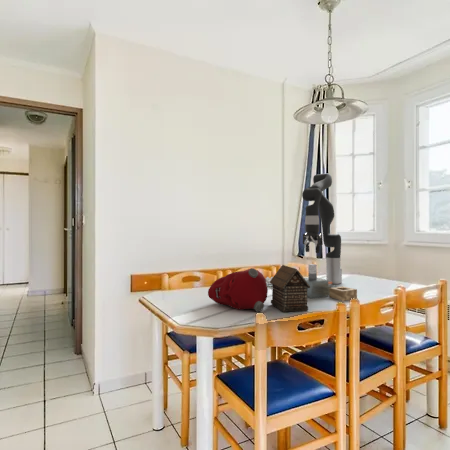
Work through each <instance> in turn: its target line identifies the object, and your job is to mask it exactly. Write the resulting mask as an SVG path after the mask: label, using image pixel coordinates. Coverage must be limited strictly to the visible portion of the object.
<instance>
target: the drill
mask: <svg viewBox="0 0 450 450" xmlns="http://www.w3.org/2000/svg"><path fill="white" fill-rule="evenodd" d="M307 265H308V266H307V267H308V271H307V272H308V276H307V277H308V278H309V280H317V278H318V277H317V276H318V275H317V273H318V272H317V271H318V269H317V265H318V264H314V263H309V264H307Z"/></svg>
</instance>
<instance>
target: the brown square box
mask: <svg viewBox="0 0 450 450" xmlns="http://www.w3.org/2000/svg"><path fill="white" fill-rule="evenodd" d="M329 291H330V295H329V298H331V299H335V300H339V301H341V302H342V301H343V302H344V301H351V300H350V299H351V298H357V299H358V289H356V288H352V287H347V286H337V287H334V288H329Z"/></svg>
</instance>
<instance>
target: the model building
mask: <svg viewBox="0 0 450 450" xmlns="http://www.w3.org/2000/svg"><path fill="white" fill-rule="evenodd" d="M272 277H273V278H272V279H271V281H270V283H271V284H273V285H272V286H273V287H272V286H271V287H272V290H271V292H272V293H271V294H272V295H271V300H270V303H271V306H274V307H275V308H277V309H278V310H279V311H281V312H282V313H283V312H284V313H290V312H306V311H308V310H309V306H308V297H307V288H310V286H309V284H308V283H307V282H306V280H305V279H304V278H305V277H303V274H301V273H300V270H299V269H297V268H294V267H291V266H288V265H285V264H282V265H281V266H280V267H279V268H278V270H277V271H276V273H275V274H274V275H273V276H272ZM271 284H270V285H271Z"/></svg>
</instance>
